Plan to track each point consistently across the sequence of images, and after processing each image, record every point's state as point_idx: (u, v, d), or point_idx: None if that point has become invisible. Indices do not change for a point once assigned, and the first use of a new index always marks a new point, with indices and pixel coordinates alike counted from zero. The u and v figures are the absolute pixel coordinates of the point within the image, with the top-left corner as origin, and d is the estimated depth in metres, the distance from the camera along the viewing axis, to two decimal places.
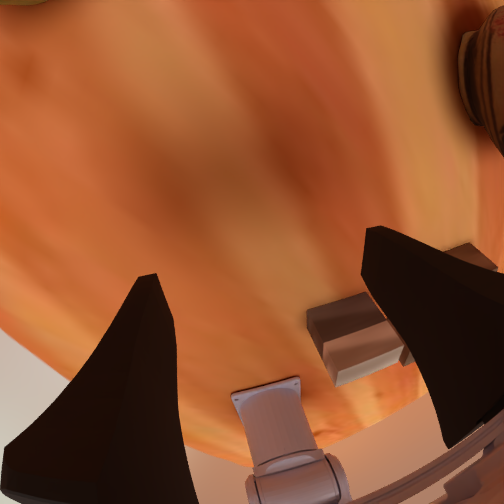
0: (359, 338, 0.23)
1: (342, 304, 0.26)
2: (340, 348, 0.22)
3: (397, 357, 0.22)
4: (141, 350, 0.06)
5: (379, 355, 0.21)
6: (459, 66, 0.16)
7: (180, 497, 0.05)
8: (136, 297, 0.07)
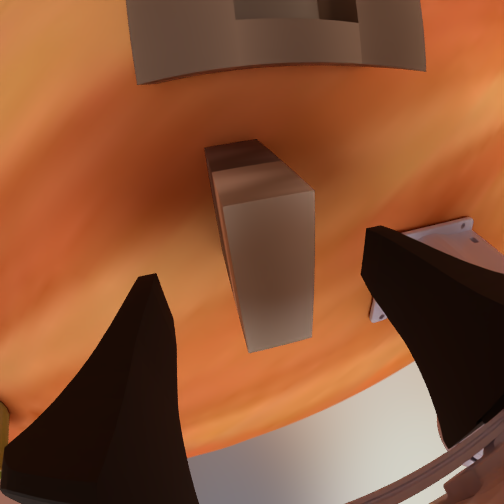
0: (227, 258, 0.11)
1: (214, 205, 0.14)
2: (235, 300, 0.12)
3: (284, 202, 0.08)
4: (141, 350, 0.06)
5: (235, 279, 0.09)
6: None
7: (180, 497, 0.05)
8: (136, 297, 0.07)
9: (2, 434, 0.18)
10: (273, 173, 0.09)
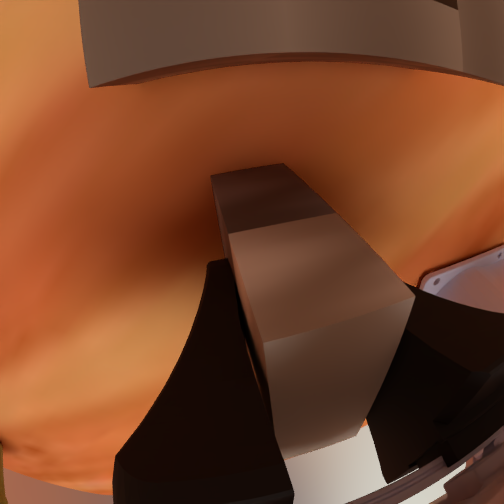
0: (251, 352, 0.07)
1: (225, 255, 0.11)
2: None
3: (368, 322, 0.04)
4: None
5: (273, 413, 0.05)
6: None
7: None
8: (219, 280, 0.08)
9: None
10: (334, 245, 0.06)
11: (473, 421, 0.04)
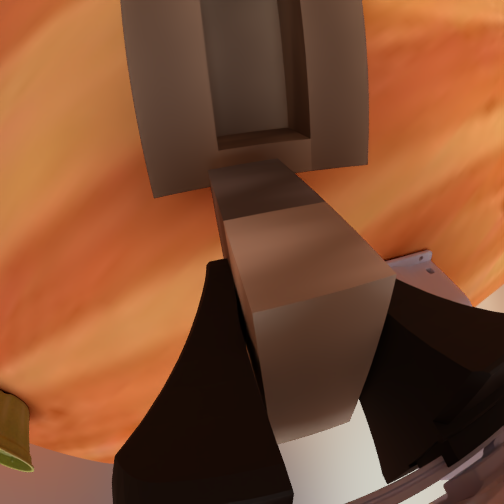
0: (245, 336, 0.08)
1: (222, 246, 0.11)
2: None
3: (352, 297, 0.05)
4: None
5: (265, 390, 0.06)
6: None
7: None
8: (219, 280, 0.08)
9: (24, 430, 0.23)
10: (321, 230, 0.06)
11: (473, 420, 0.04)
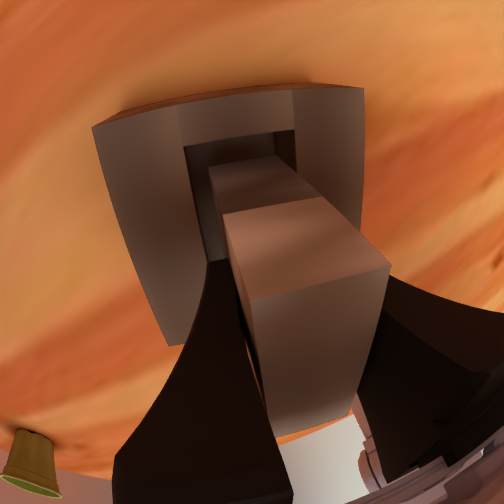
0: (244, 329, 0.08)
1: (221, 242, 0.11)
2: (254, 373, 0.09)
3: (347, 286, 0.05)
4: None
5: (263, 380, 0.06)
6: None
7: None
8: (219, 280, 0.08)
9: (51, 464, 0.25)
10: (318, 223, 0.06)
11: (473, 421, 0.04)
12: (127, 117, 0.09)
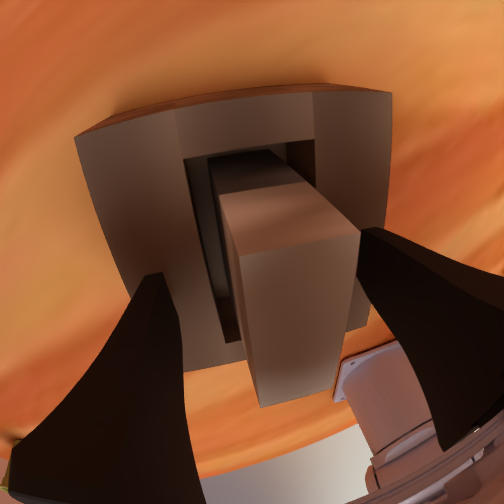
0: (236, 300, 0.09)
1: (218, 227, 0.12)
2: (244, 345, 0.10)
3: (322, 249, 0.06)
4: (149, 349, 0.06)
5: (251, 339, 0.07)
6: None
7: (188, 496, 0.05)
8: (143, 296, 0.07)
9: None
10: (300, 201, 0.07)
11: None
12: (115, 124, 0.07)
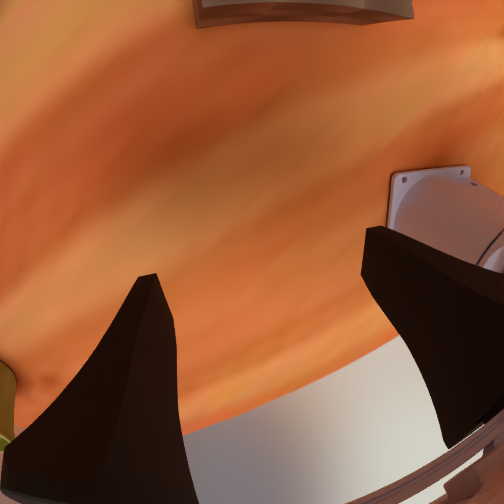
0: None
1: None
2: None
3: None
4: (141, 350, 0.06)
5: None
6: None
7: (180, 497, 0.05)
8: (136, 297, 0.07)
9: (8, 401, 0.19)
10: None
11: None
12: None
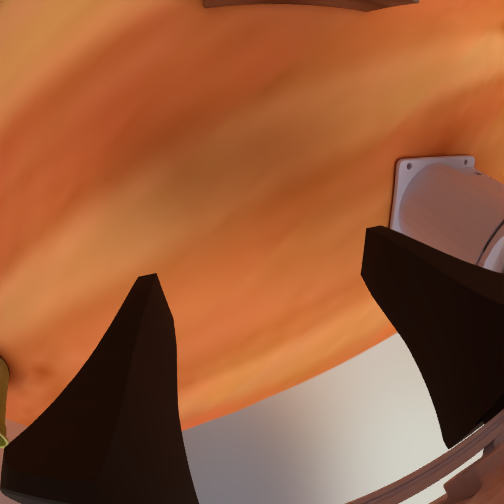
0: None
1: None
2: None
3: None
4: (141, 350, 0.06)
5: None
6: None
7: (180, 497, 0.05)
8: (136, 297, 0.07)
9: (0, 392, 0.18)
10: None
11: None
12: None
